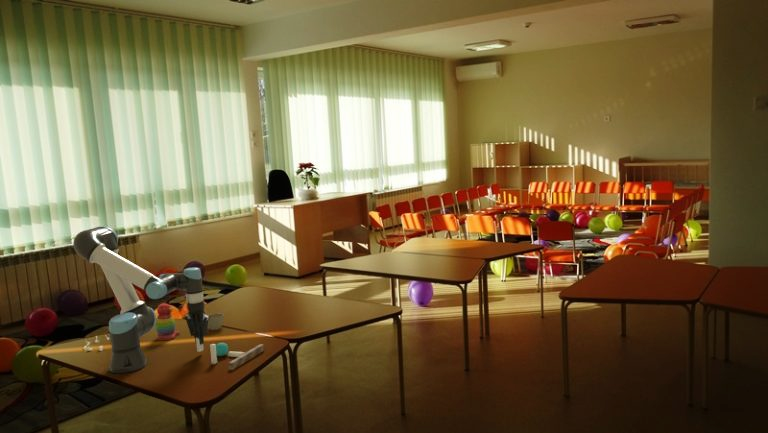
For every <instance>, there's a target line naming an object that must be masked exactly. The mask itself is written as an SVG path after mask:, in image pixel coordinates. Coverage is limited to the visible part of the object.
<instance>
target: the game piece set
mask: <svg viewBox="0 0 768 433" xmlns="http://www.w3.org/2000/svg"><path fill="white" fill-rule="evenodd" d="M104 336H105V337H106V340H107V341H109V340H110V336H107V335H106V334H105V335H104ZM95 338H96V339H95V340H94V342H95V343H100V340H99V339H98V336H97V335H95ZM84 342H85V343H86V345H84V346H83V348H82V349H83V350H84V349H85V350H88V351H89V352H91V351H93V347H90V345H91V342H90V341H87V340H85V341H84ZM103 347H104V346H103V345H100V346H99V347H98V349H99V352H101V351H103Z"/></svg>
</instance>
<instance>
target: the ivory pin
mask: <svg viewBox="0 0 768 433" xmlns="http://www.w3.org/2000/svg"><path fill="white" fill-rule="evenodd" d="M246 352H247V351H246ZM246 352H243V351H231V350H228V352H227V353H228V357H229V356H230V357H232V358H238V357H239V356H241V355H243V354H244V353H246Z"/></svg>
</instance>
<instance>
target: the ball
mask: <svg viewBox="0 0 768 433" xmlns="http://www.w3.org/2000/svg"><path fill="white" fill-rule="evenodd" d="M215 345H216V355H217V356H219V357H223V356H225V355H227V353H229V346H228V344H227V343H225V342H219V343H217V344H215Z"/></svg>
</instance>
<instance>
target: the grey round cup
mask: <svg viewBox="0 0 768 433" xmlns="http://www.w3.org/2000/svg"><path fill="white" fill-rule="evenodd" d="M206 315H207V316H210V318H209V320H208V329H209V330H211V331H217V330H220V329H221V328H222V325H223V322H224V317H225V316H224V314H223V313H222V312H215V313H209V314H206Z"/></svg>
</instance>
